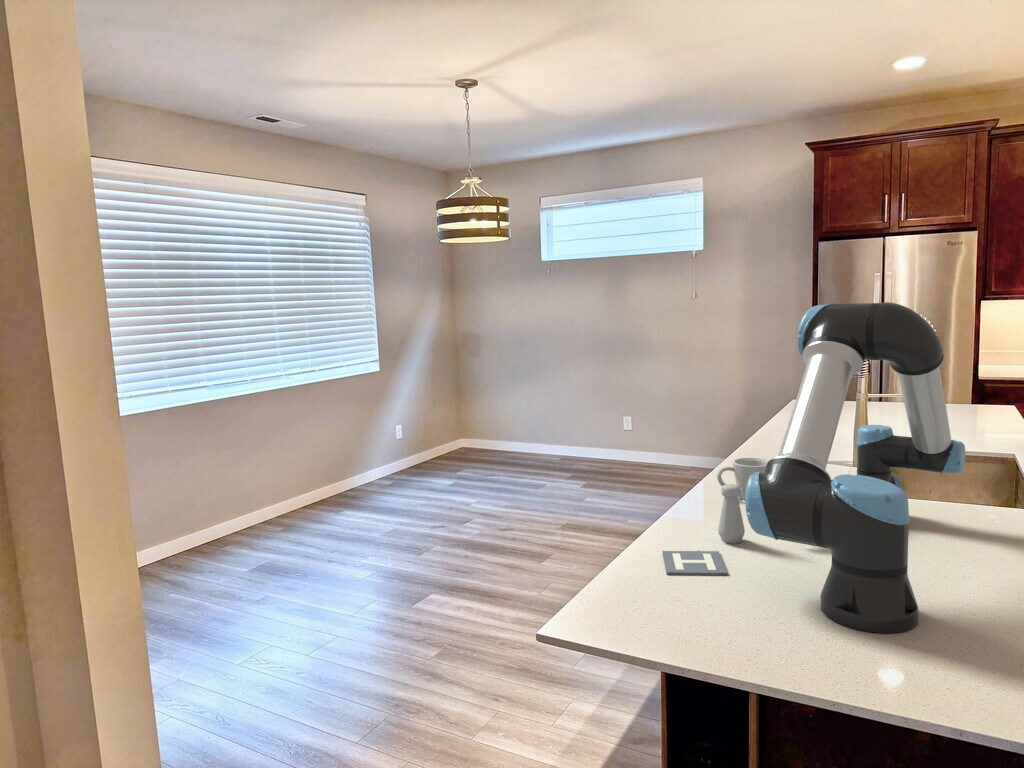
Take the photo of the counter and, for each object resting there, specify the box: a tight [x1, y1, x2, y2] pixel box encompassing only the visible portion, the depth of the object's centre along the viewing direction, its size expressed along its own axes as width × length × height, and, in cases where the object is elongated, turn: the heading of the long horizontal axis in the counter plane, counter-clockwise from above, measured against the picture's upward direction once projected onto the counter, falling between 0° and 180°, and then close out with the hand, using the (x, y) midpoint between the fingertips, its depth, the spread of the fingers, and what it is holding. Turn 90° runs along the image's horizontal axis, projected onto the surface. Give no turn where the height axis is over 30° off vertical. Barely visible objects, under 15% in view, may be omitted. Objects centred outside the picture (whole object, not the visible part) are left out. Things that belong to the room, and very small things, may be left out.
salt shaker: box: [717, 483, 746, 545], centre depth 157 cm, size 6×6×13 cm
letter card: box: [661, 550, 729, 576], centre depth 146 cm, size 12×12×1 cm
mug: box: [716, 457, 770, 501], centre depth 190 cm, size 10×15×10 cm
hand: (764, 506), depth 160 cm, fingers open, 13 cm apart
